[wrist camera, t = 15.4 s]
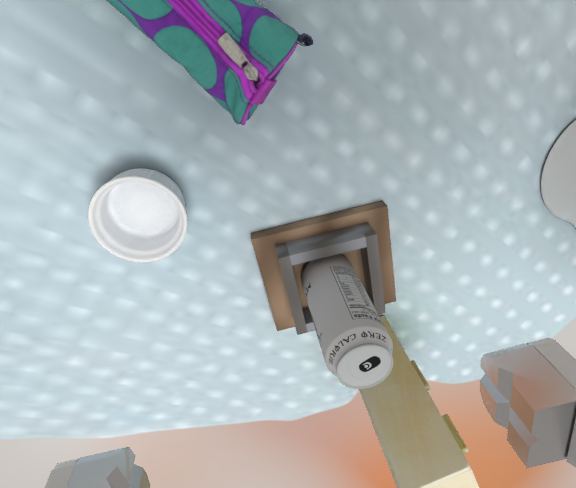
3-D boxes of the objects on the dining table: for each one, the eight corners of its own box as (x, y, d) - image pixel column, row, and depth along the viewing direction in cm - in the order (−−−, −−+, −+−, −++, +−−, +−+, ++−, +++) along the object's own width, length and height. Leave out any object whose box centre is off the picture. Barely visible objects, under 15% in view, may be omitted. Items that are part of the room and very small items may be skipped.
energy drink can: (289, 268, 46) (315, 365, 33) (334, 239, 45) (380, 327, 32) (317, 302, 49) (351, 404, 36) (360, 275, 48) (412, 370, 35)
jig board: (382, 200, 45) (397, 217, 41) (391, 294, 52) (405, 316, 48) (250, 233, 45) (253, 253, 41) (276, 323, 51) (280, 347, 47)
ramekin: (208, 200, 43) (206, 217, 39) (156, 257, 45) (150, 278, 41) (134, 143, 39) (124, 156, 35) (81, 208, 41) (67, 227, 37)
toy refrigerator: (407, 350, 57) (495, 506, 38) (359, 372, 57) (422, 535, 39) (389, 310, 53) (477, 462, 34) (338, 334, 53) (397, 495, 35)
